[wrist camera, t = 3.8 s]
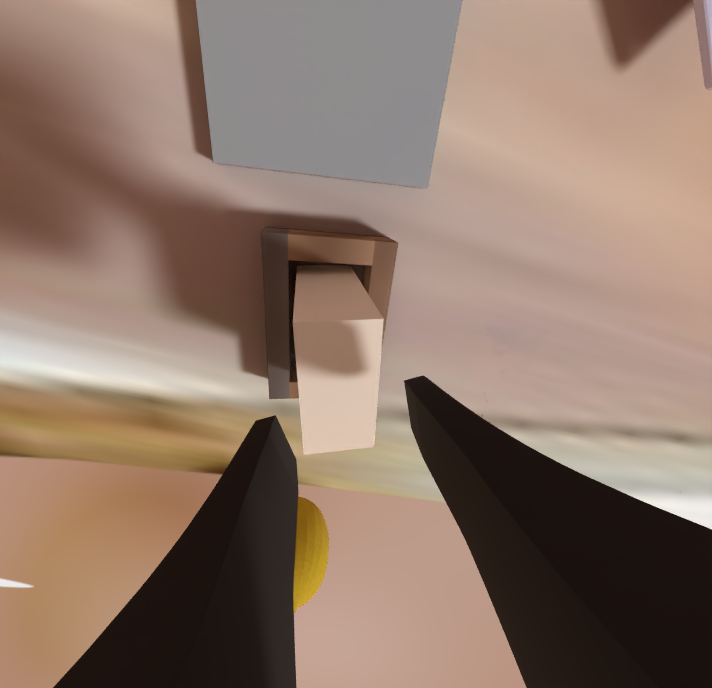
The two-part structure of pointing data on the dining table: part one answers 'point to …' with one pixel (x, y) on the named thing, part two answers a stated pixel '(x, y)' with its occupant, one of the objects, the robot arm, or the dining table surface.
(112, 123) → the dining table surface
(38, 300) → the dining table surface
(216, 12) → the tile
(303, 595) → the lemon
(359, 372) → the tan rectangular post
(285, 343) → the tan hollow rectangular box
